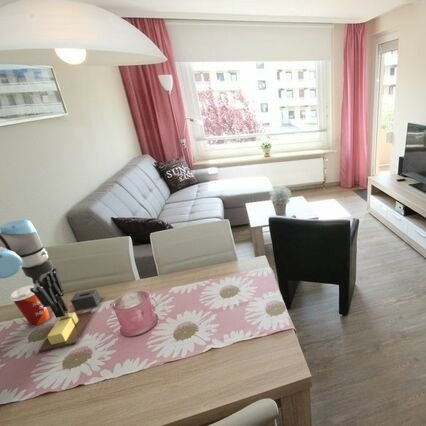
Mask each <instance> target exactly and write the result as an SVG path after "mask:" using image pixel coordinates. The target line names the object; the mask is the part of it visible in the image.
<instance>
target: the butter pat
mask: <svg viewBox="0 0 426 426" xmlns="http://www.w3.org/2000/svg"><path fill="white" fill-rule="evenodd" d="M67 314H68V316H69V318H71V319H72V321H73V323H74V324H76V323H77V322H78V318H77V316H76V314H77V313H76V312H75V311H73V312H69V313H67ZM58 321H61V320H60V318H59V317H58Z"/></svg>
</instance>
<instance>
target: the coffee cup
mask: <svg viewBox="0 0 426 426" xmlns="http://www.w3.org/2000/svg"><path fill="white" fill-rule="evenodd" d="M34 285H35V284H31V285H26V286H21V287H20V288H18V289H16V290H14V291H13V292H12V293H10V294H11V295H10V301H12V302H13V303H14V305H15V306H16V307H17V308H18V309H19V311H20V312H21V314H22V315H23V317H24V318H25V319H26V321H27V322H28V323H29V325H30V326H32V327H35V326H36V327H37V326H38V325H41V324H44V323H45V322H47V321H48V320H49V319H50V317H51V315H50V313H49V311H48V309H47V307H44V306H43V305H42V303H41V302H40V301H39V299H38V298H37V297H36V295H35V294H34V293H33V292H31V291H30V289H31V288H34Z"/></svg>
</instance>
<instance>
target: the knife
mask: <svg viewBox="0 0 426 426" xmlns="http://www.w3.org/2000/svg"><path fill="white" fill-rule="evenodd" d="M54 296H55V299H56V301H57V302H58V301H59V303H60V305H61V307H62V309H63V311H64V312H65V314H66V315H65V316H62V317H58V319H59V318H60V320H65V319H70V318H69V316H68V314H69V313H68V312H66V311H65V310H66V308H65V306H64V305H63V303H62V301H61V299H60V297H59V295H58V293H55V294H54Z"/></svg>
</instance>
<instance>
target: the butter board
mask: <svg viewBox="0 0 426 426" xmlns="http://www.w3.org/2000/svg"><path fill="white" fill-rule="evenodd" d="M75 314H76V316H77V318H78V322H77V323H76V324H74V325H75V327H74V328H73V330H72V332H71V333H70V335H69V337H68V338H67V340H66V341H65V342H61V343H57V344H53V345H51V343H50V342H49V340H48V338H47V337H46V339H45V340H44V342H43V343H42V344H41V346H40V347H39V349H38V352H39V353H44V352H48V351H52V350H56V349H60V348H65V347H68V346H69V347H70V346H73V345H76V344H77V342H78V341H79V339H80V336H81V335H82V333H83V331H84V330H85V327H86V326H87V324H88V322H89V320H90V318H91V317H92V314H93V311H92V310H90V311H86V312H81V313H75Z"/></svg>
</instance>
